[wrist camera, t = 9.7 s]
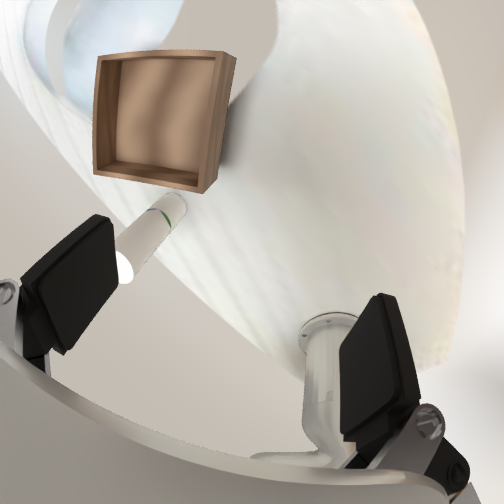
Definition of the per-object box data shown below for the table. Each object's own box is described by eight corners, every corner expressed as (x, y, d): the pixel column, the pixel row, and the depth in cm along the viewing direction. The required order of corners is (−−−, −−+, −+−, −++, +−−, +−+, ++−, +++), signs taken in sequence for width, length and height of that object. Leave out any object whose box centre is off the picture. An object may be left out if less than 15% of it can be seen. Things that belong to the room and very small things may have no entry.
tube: (183, 224, 39) (132, 289, 27) (158, 214, 39) (100, 273, 27) (189, 199, 37) (134, 259, 24) (162, 188, 37) (99, 243, 24)
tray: (243, 62, 26) (223, 51, 18) (225, 169, 33) (202, 194, 26) (139, 58, 26) (98, 56, 19) (131, 154, 34) (93, 174, 27)
